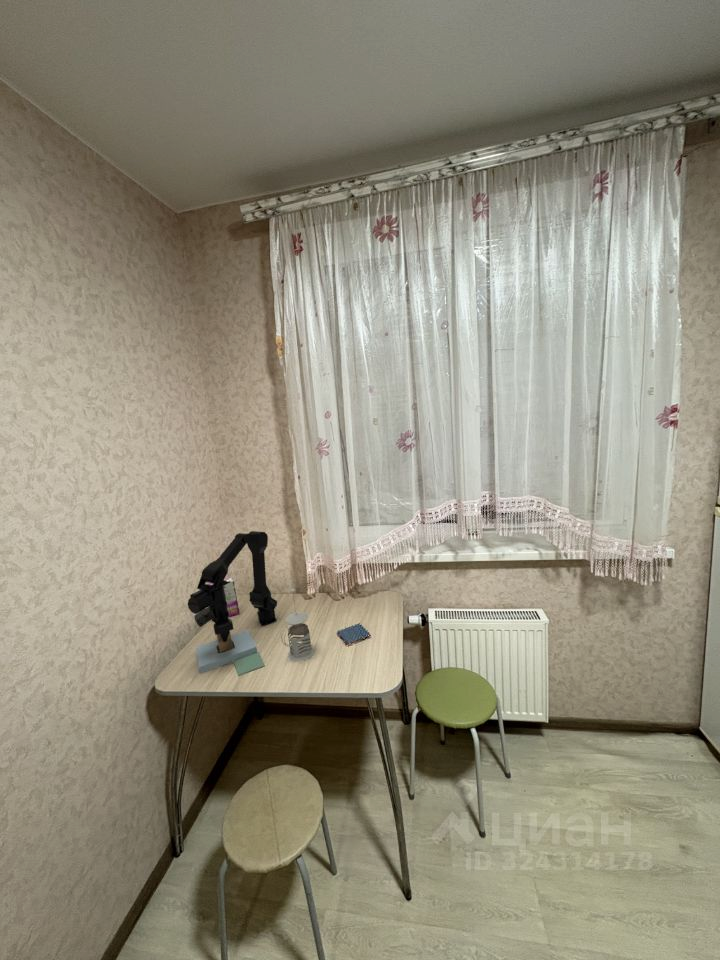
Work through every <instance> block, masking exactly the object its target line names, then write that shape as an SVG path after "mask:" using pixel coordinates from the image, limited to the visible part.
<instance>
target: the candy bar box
mask: <svg viewBox="0 0 720 960" xmlns="http://www.w3.org/2000/svg"><path fill="white" fill-rule="evenodd" d="M224 580H225V581H227V582H228V584H226V585H224V591H225V597H226V601H227V609H228V612H229V616H228V618H229V619H230V618H232V617H234V616H237V615H240V609H239V608H240V607H239V602H238V597H237V592H236V586H235V580H234V578H233V577H232V576H231V577H227V578H224ZM207 584H208V585H212V584H213V583H207Z"/></svg>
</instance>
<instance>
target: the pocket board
mask: <svg viewBox="0 0 720 960" xmlns="http://www.w3.org/2000/svg"><path fill="white" fill-rule="evenodd" d="M231 640H232V646H233V648H232V649H230V650H227V651H224V652H221V653H220V650H219V646H218V640H217V639H216V640H213V641H210V642H207V643H205V644H201V645H199V646H196V647H195V650H196V657H197V663H198V665H197V666H198V671H199V674H202V673H207V672H208V671H211V670H214V669H216V668H219V667H221V666H225V665H228V664H231V663H234V661H236V660H238V659H241V658H244V657H247V656H250V655H252V654H255V653H258V648H257V645H256V642H255V641H254V637H253V635H252V633H251V631H250V629H247V630H243V631H240V632H237V633H235V634H231Z"/></svg>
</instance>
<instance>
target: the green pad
mask: <svg viewBox="0 0 720 960" xmlns="http://www.w3.org/2000/svg"><path fill="white" fill-rule="evenodd" d="M233 663H234V665H235V669H236V672H237V675H238V677H240V676H242V675H245V674H248V673H251V672H254V671H256V670H259V669H261V668H264V667H265V662H264V660H263V658H262V656H261V653H260V652H258V651H257V653H255V654H252V655H250V656H247V657H244V658H241V659H238V660H236V661H234V662H233Z"/></svg>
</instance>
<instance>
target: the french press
mask: <svg viewBox="0 0 720 960" xmlns="http://www.w3.org/2000/svg"><path fill="white" fill-rule="evenodd" d="M295 593H297V590H296V589H295V588H291V589H290V594H292V597H293V599H295ZM293 604H294V606H296V601H295V600H293ZM296 609H297V608H296V607H294V611H295V612H292V613H290V614H289V615H288V616H286V618H285V623H286V624H287V625H289V626H290V627H288V626H284V628H283V629H282V632H281V637H280V638H281V642H282V644H283V645H284V646H286V647H288V648H289V651H288V653H287V658H288V659H289V660H290V661H293V662H303V661H306V660H308V659H310V658H311V657H312V656H314V654H315V651H316V650H315V647H313V646H312V643H311V642H312V641H311V634H310V629H309V627H308V626H309V625H308V624H306V623H304V622H306V621H307V620H308V618H309V617H308V614H307V613H305V612H303V611H296ZM285 629H286V630H285ZM284 630H285V633H284V634H283V632H284ZM287 632H288V633H287ZM286 634H287V638H288V639H287V640H288V644H287V643H286V639H285V638H286ZM283 635H284V636H283Z"/></svg>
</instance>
